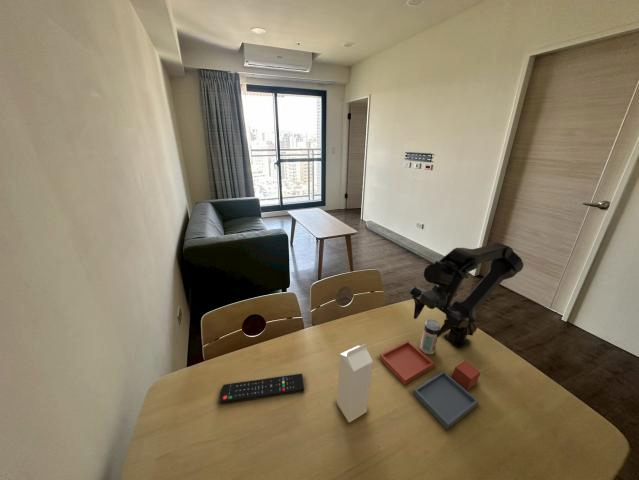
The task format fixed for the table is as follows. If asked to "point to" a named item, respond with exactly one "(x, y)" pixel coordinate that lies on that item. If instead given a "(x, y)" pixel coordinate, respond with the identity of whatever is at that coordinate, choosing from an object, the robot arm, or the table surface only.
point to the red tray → (406, 362)
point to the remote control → (261, 388)
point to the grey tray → (445, 399)
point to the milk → (354, 382)
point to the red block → (466, 375)
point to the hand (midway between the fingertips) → (425, 327)
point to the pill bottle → (429, 336)
